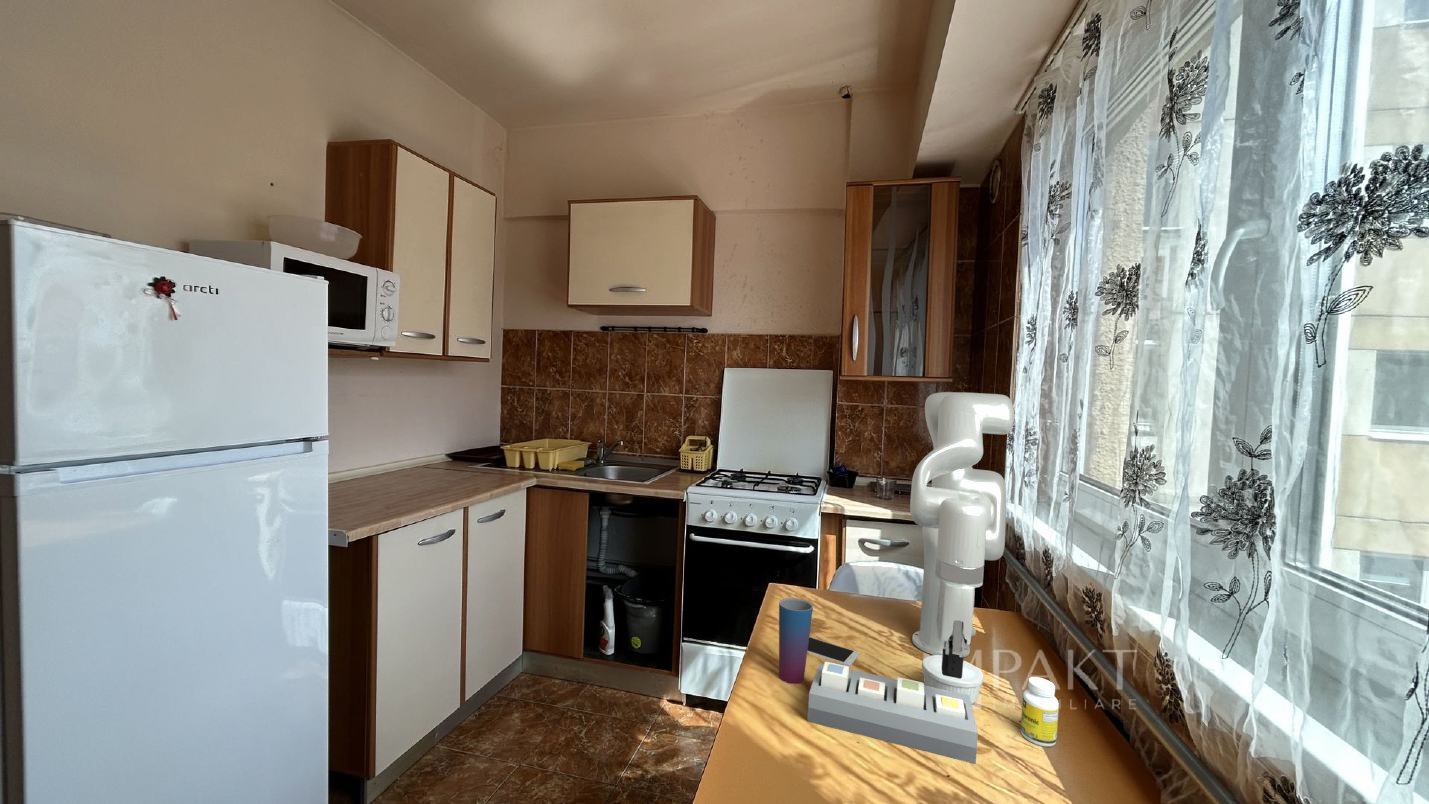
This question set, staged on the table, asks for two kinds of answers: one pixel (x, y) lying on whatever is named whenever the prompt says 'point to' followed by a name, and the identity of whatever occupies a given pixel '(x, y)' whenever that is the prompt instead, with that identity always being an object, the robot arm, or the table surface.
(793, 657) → the cup
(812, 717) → the keypad
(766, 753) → the table surface
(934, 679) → the ramekin
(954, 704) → the key mustard
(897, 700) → the key olive
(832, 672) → the key slate
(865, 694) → the key terracotta
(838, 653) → the smartphone
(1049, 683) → the supplement bottle
